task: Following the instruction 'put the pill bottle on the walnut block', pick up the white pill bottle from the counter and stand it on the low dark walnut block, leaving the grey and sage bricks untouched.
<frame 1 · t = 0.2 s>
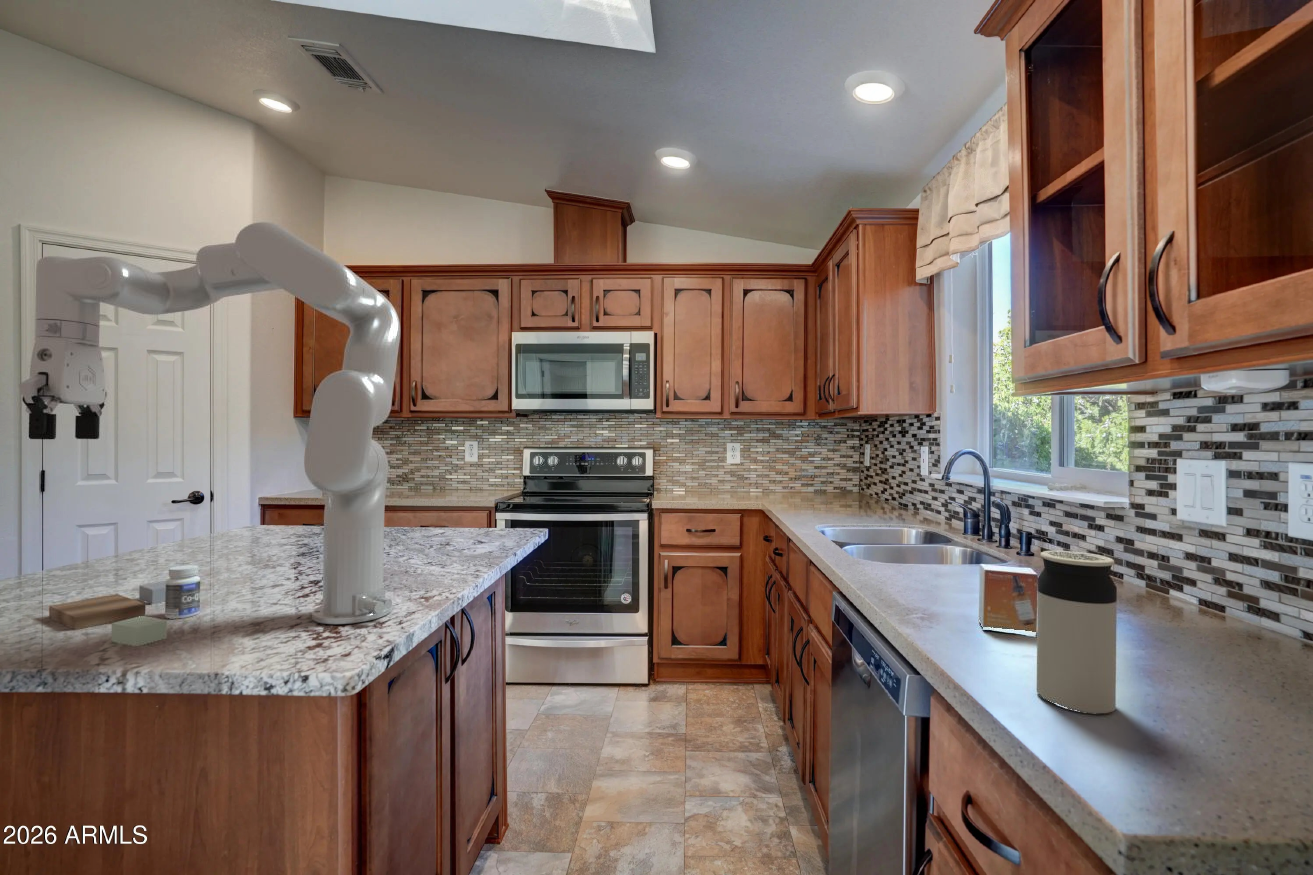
hand: (65, 439, 97), 30 cm above the worktop, tool pointing down, fingers open, 9 cm apart
sage brick: (139, 641, 90), on the worktop
pill bottle: (182, 616, 103), on the worktop
small box: (1006, 630, 101), on the worktop
walnut block: (97, 616, 101), on the worktop
grey brick: (158, 601, 112), on the worktop
travel mug: (1074, 702, 73), on the worktop
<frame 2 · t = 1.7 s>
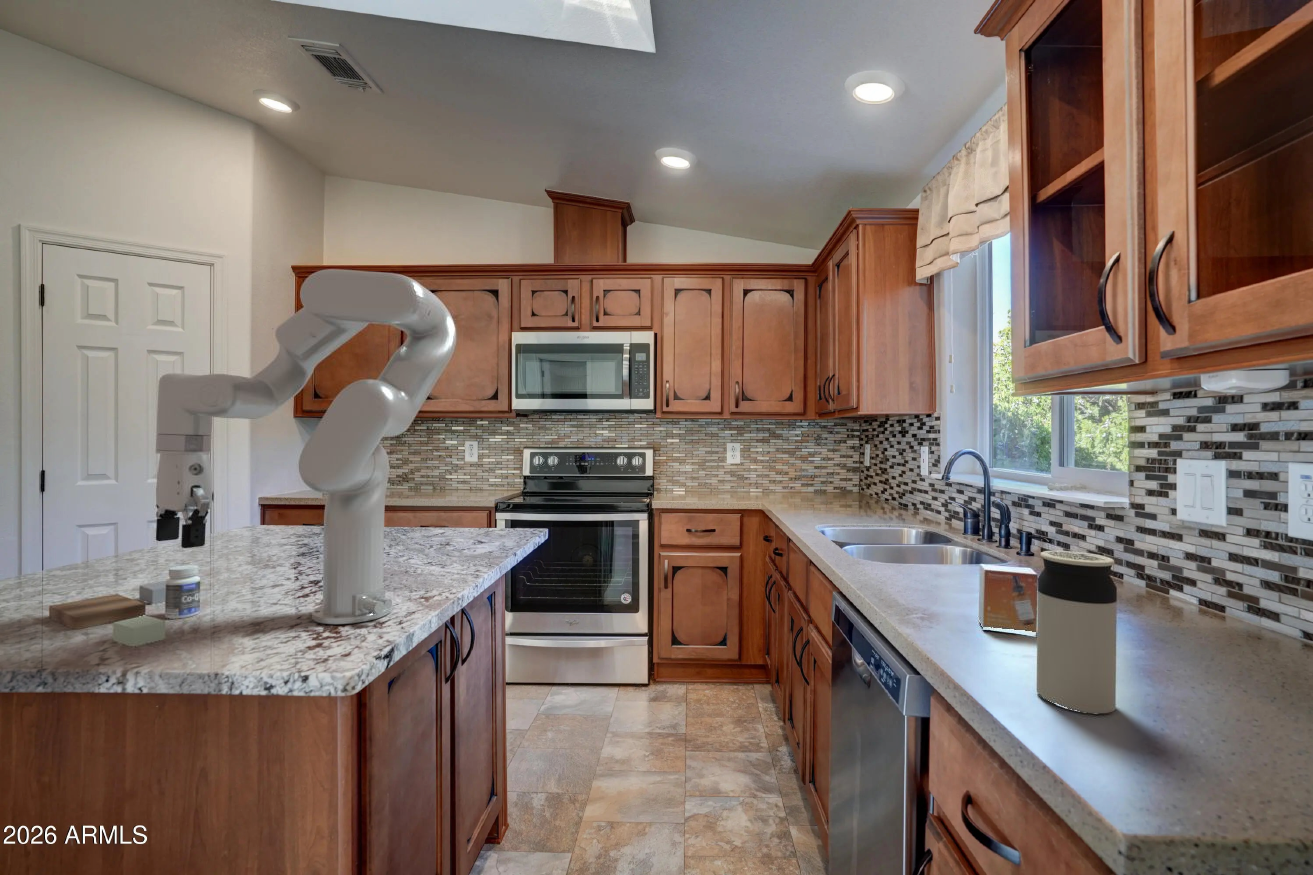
hand: (179, 543, 103), 12 cm above the worktop, tool pointing down, fingers open, 9 cm apart
nothing on the worktop moved.
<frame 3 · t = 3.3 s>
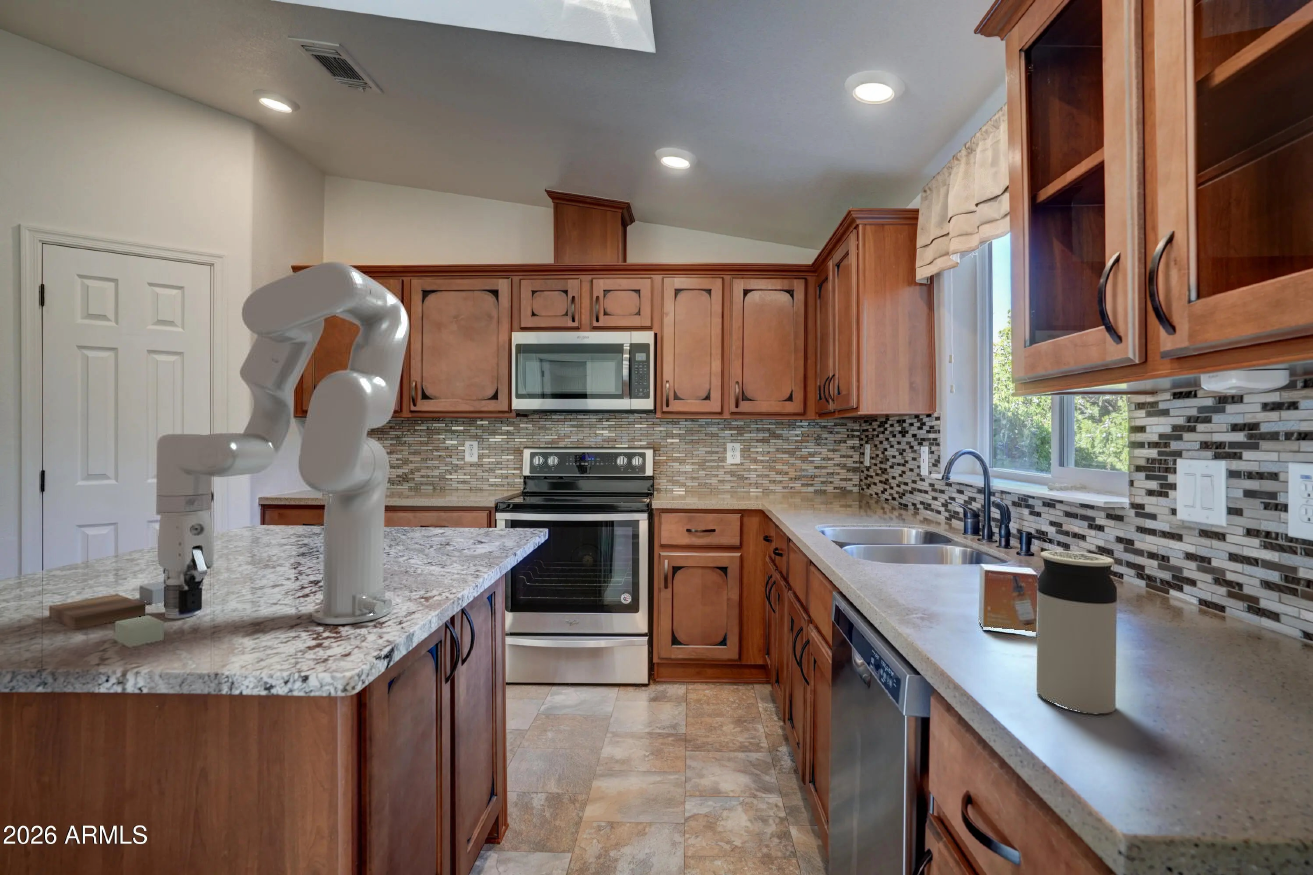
hand: (182, 608, 103), 1 cm above the worktop, tool pointing down, fingers closed on pill bottle, 4 cm apart
pill bottle: (182, 616, 103), on the worktop, touching gripper
everything else where it was.
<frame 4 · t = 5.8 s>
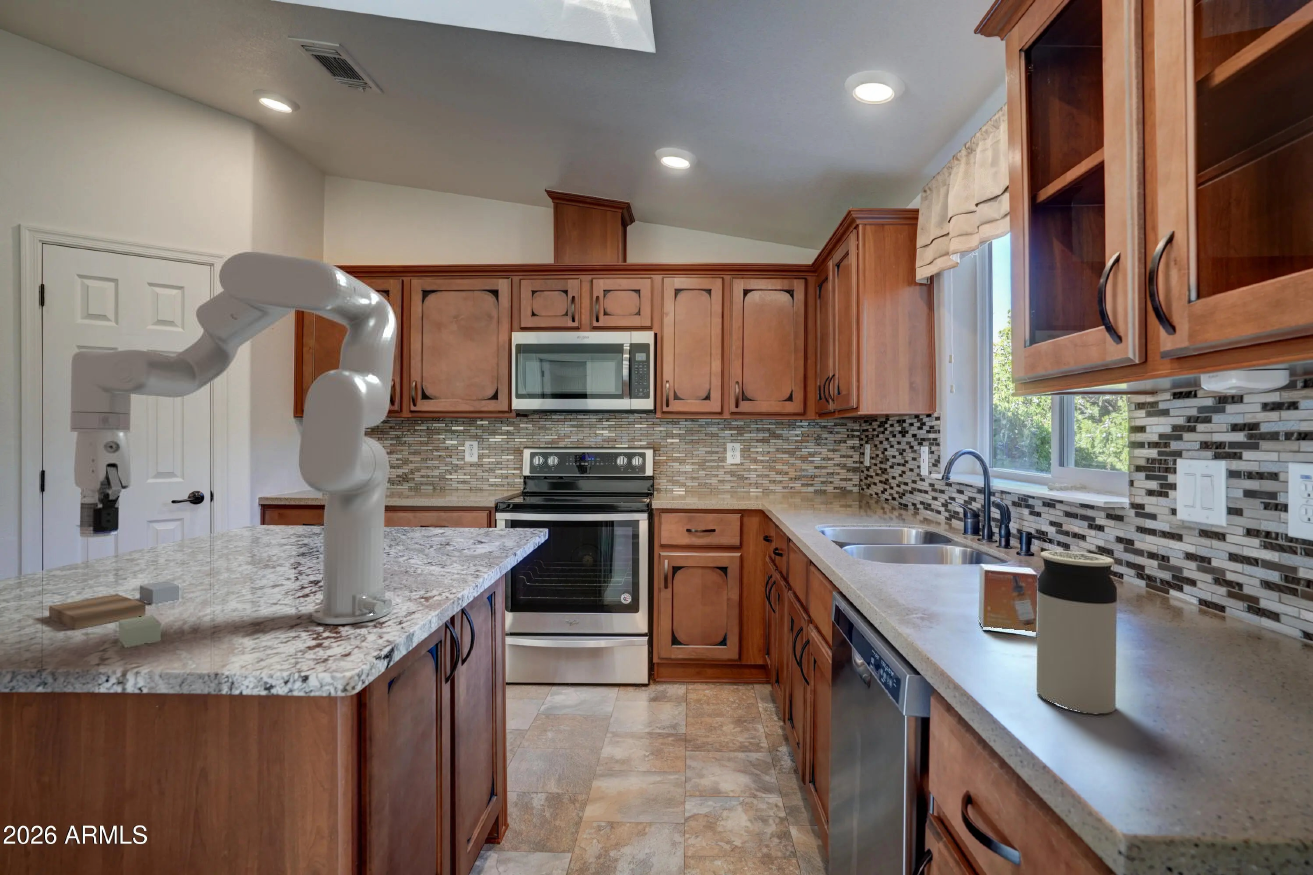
hand: (99, 528, 101), 15 cm above the worktop, tool pointing down, fingers closed on pill bottle, 4 cm apart
pill bottle: (99, 536, 101), point 14 cm above the worktop, touching gripper
everything else where it was.
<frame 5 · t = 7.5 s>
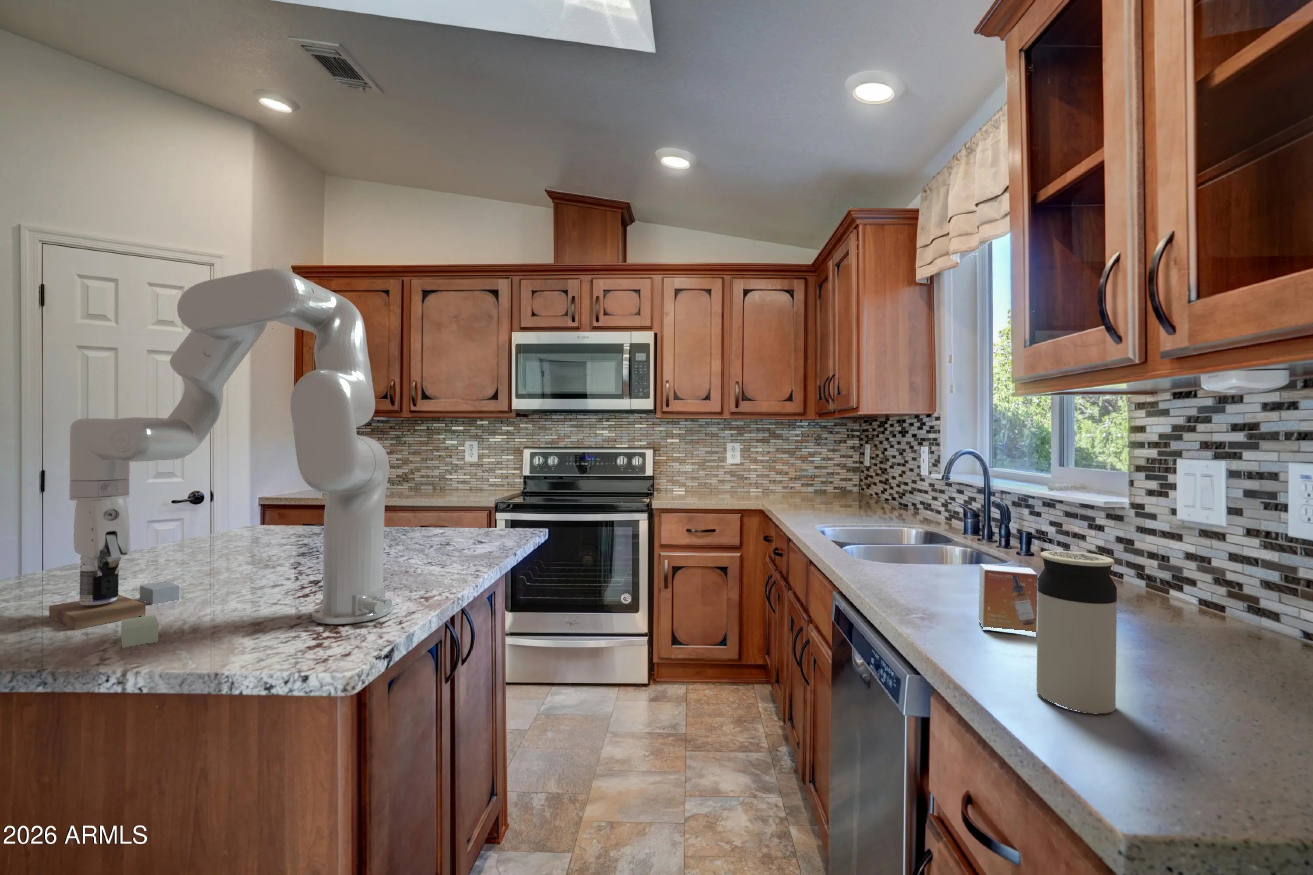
hand: (99, 595, 101), 4 cm above the worktop, tool pointing down, fingers closed on pill bottle, 4 cm apart
pill bottle: (98, 603, 101), point 2 cm above the worktop, touching gripper
everything else where it was.
when the fingers open (4 cm above the worktop, at t = 8.6 s): pill bottle stays where it is, resting on walnut block.
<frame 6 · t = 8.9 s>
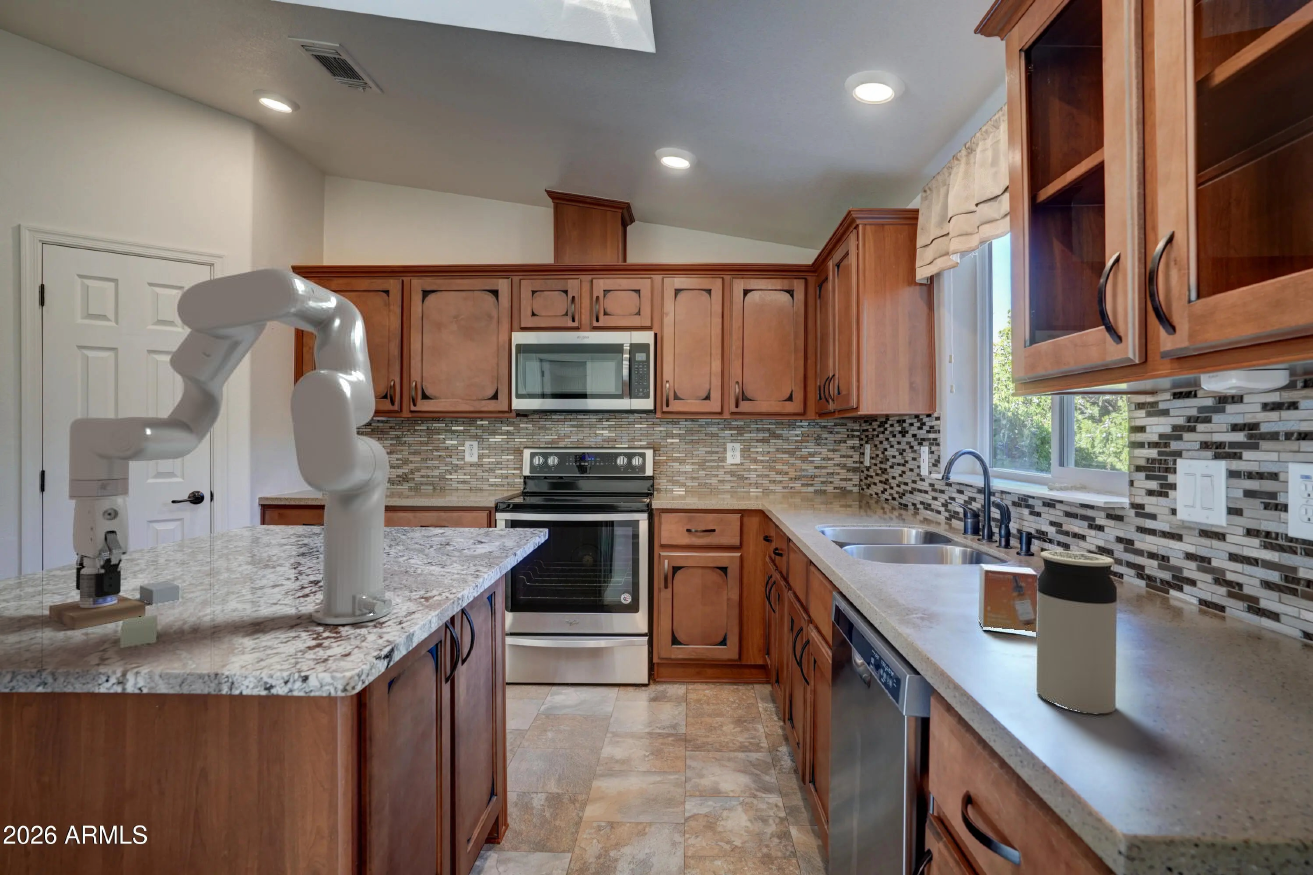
hand: (98, 591, 101), 4 cm above the worktop, tool pointing down, fingers open, 7 cm apart
pill bottle: (98, 605, 101), point 2 cm above the worktop, touching walnut block
everything else where it was.
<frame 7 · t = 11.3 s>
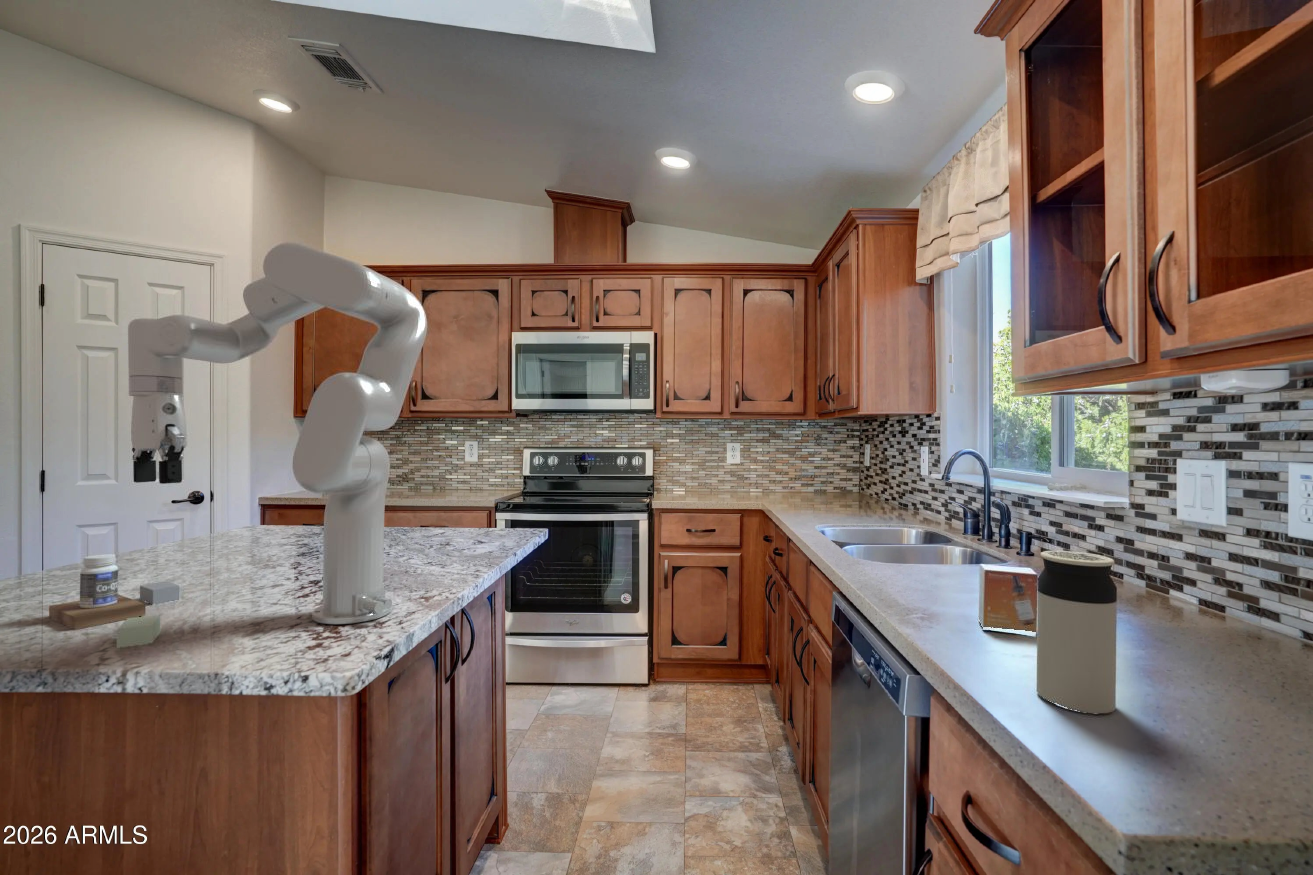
hand: (157, 482, 107), 23 cm above the worktop, tool pointing down, fingers open, 9 cm apart
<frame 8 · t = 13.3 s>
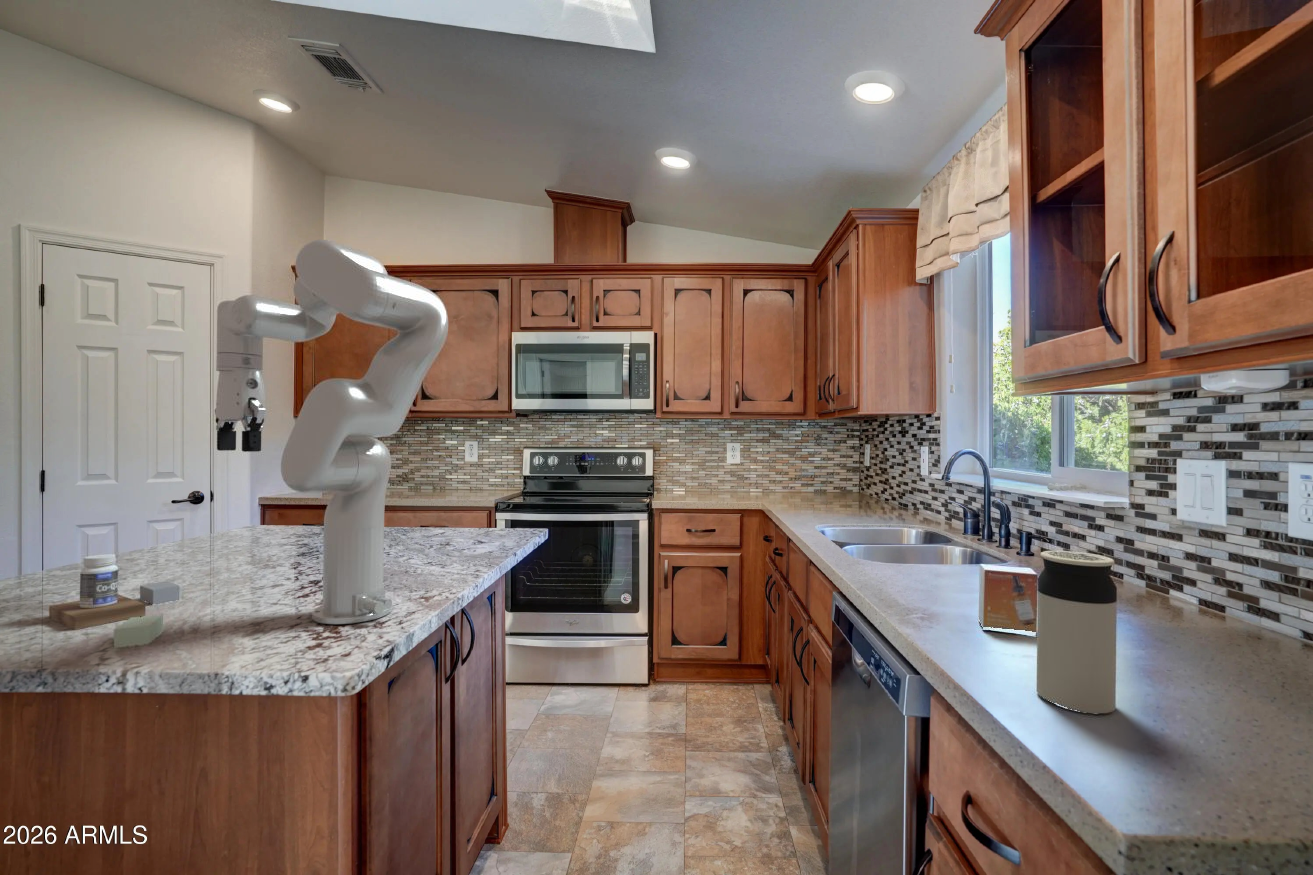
hand: (238, 450, 117), 28 cm above the worktop, tool pointing down, fingers open, 9 cm apart
at the end: pill bottle inside the target area on the walnut block (0.2 cm from its centre), point 1.8 cm above the walnut block's base; pill bottle tilted 0°; grey brick moved 0.4 cm from its start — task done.
